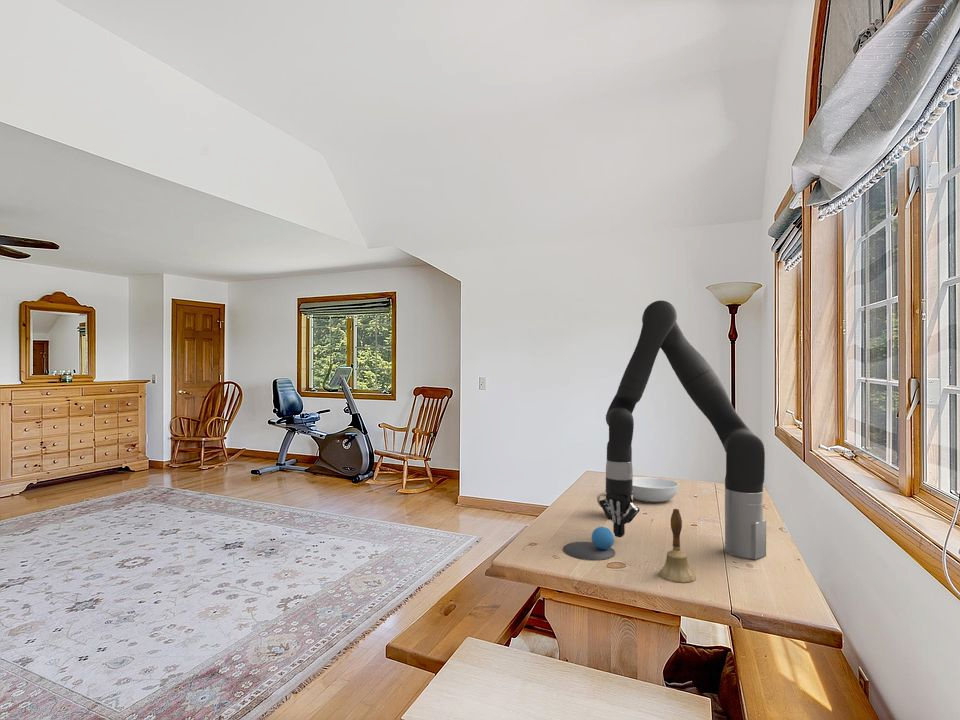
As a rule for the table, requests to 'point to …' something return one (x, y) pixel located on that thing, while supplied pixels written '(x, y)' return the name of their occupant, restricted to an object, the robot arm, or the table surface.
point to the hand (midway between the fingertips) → (618, 536)
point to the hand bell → (676, 556)
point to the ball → (602, 538)
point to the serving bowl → (654, 489)
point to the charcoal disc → (587, 551)
